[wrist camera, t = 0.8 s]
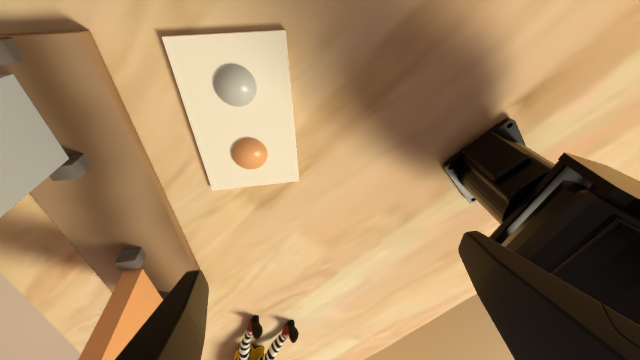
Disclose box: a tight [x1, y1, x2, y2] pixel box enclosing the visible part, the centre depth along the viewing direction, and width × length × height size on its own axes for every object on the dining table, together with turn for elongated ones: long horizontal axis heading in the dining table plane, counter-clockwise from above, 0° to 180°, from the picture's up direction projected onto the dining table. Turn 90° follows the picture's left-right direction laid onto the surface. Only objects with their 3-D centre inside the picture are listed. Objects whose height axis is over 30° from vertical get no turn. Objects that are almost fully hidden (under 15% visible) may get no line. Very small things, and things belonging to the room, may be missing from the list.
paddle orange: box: [79, 269, 163, 360], centre depth 20 cm, size 2×5×11 cm, turn 2°
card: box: [162, 30, 299, 191], centre depth 19 cm, size 7×11×1 cm, turn 2°
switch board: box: [0, 31, 200, 300], centre depth 21 cm, size 8×24×2 cm, turn 2°
